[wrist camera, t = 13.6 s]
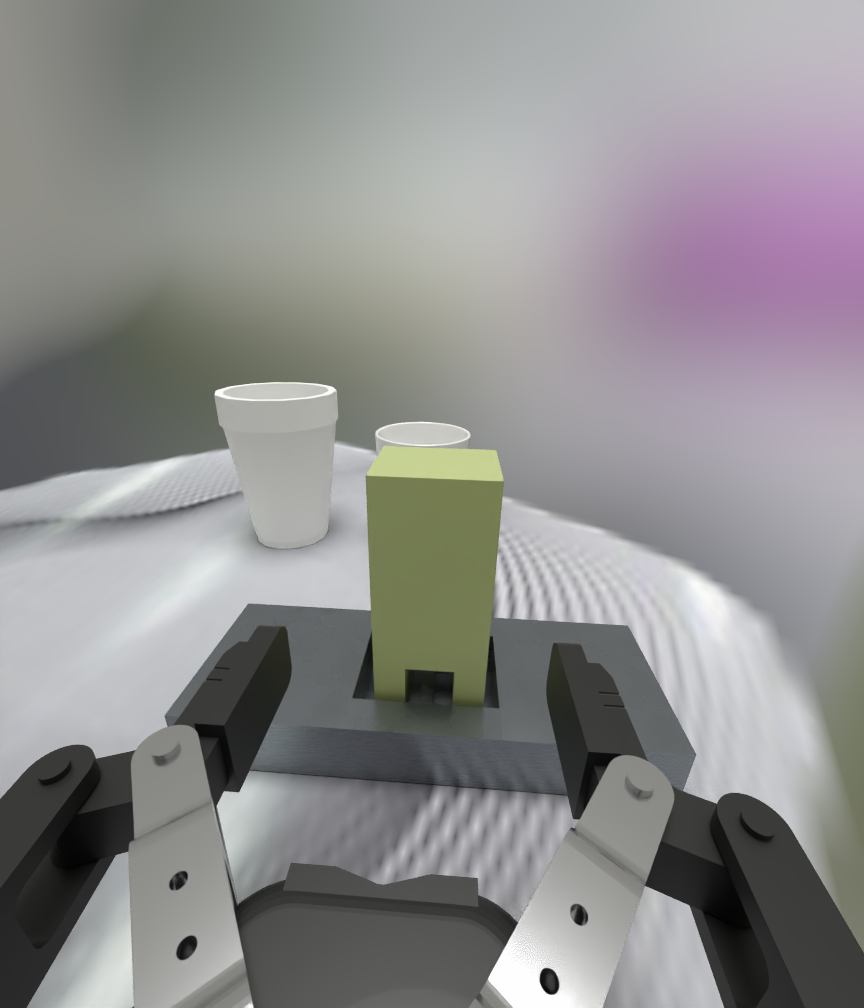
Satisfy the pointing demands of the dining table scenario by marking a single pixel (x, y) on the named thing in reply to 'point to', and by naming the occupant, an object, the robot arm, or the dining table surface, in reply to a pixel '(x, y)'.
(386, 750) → the grey flat block
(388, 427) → the white cup
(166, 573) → the dining table surface
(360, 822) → the dining table surface
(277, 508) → the foam cup
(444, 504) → the olive green rectangular block
